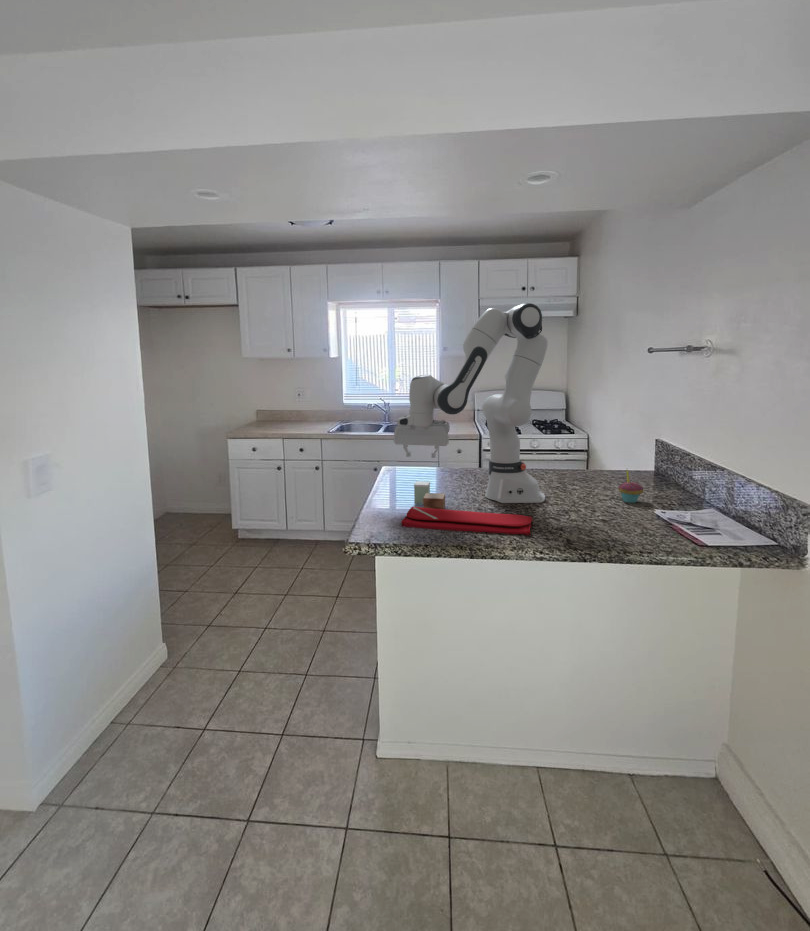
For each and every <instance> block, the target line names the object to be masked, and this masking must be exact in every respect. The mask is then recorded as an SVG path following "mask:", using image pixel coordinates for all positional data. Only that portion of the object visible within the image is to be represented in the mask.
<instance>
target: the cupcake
mask: <svg viewBox="0 0 810 931" xmlns="http://www.w3.org/2000/svg"><path fill="white" fill-rule="evenodd" d="M629 475H630V474H629V470H628V469H626V479H627V481H626V482H623V483H621V484H620V485H619V486H618V492H619V493H620V495H621V499H622V501H623V502H624V503H629V504H631V503H632V504H633V503H637V502H638V499H639V497H640V495H642V494H643V492H644V487H643V486H642V485H641V484H640V483H638V482H634V481H630V476H629Z"/></svg>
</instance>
